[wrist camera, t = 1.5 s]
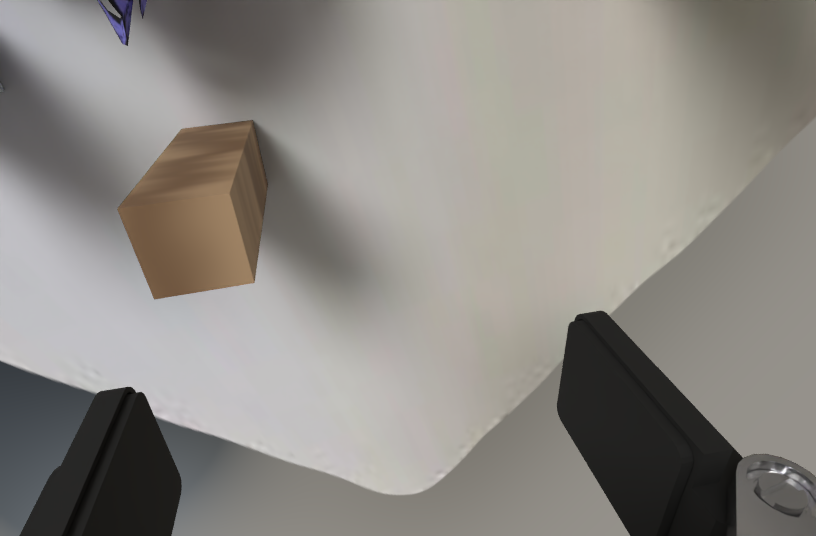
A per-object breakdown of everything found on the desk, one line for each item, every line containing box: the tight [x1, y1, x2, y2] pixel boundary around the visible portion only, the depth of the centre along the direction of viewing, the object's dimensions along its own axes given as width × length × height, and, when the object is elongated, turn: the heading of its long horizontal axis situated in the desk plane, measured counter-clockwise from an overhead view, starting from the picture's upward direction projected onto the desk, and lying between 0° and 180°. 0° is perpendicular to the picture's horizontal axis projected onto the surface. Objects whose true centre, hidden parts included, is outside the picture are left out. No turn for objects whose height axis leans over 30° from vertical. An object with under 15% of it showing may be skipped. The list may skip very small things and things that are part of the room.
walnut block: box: [117, 120, 268, 299], centre depth 24 cm, size 4×4×12 cm
